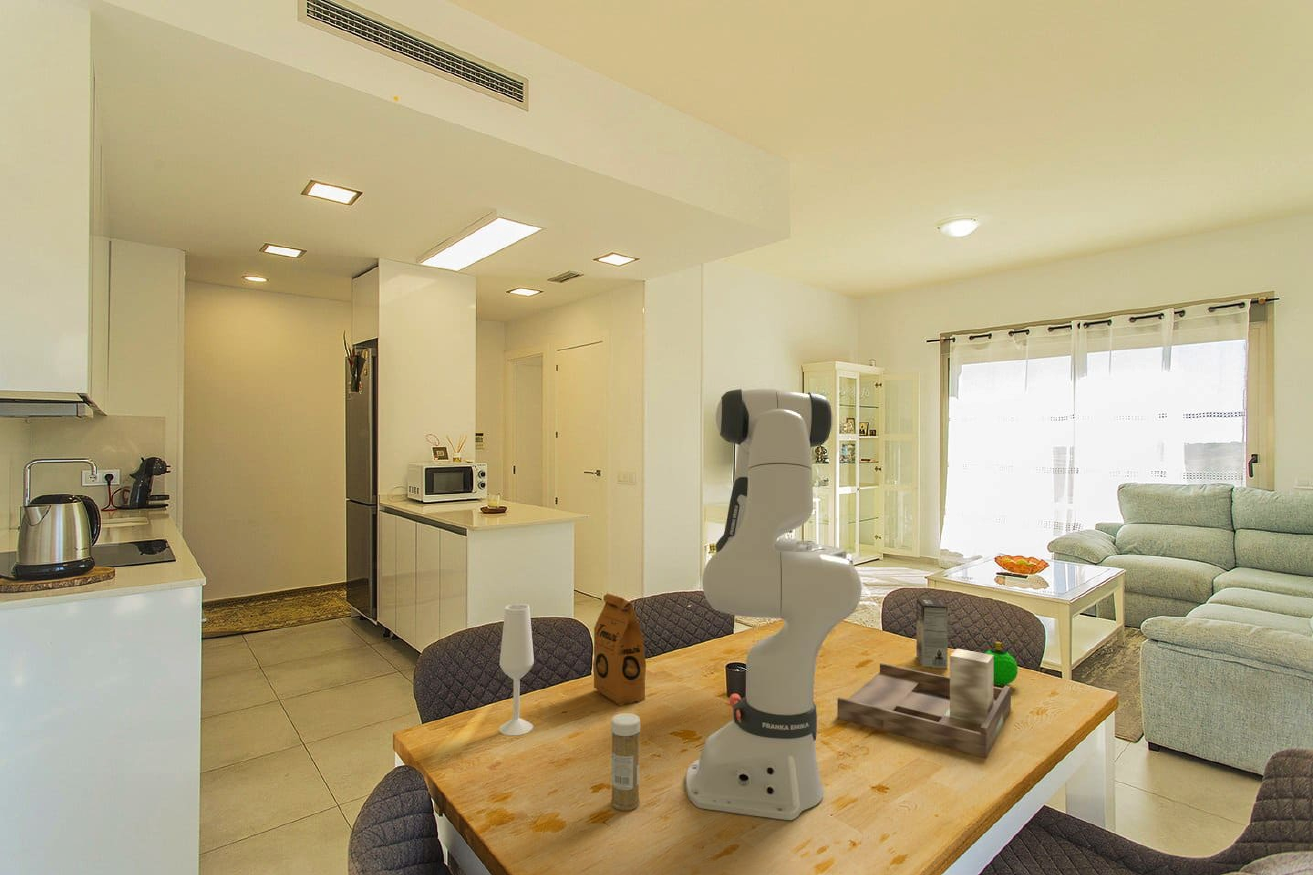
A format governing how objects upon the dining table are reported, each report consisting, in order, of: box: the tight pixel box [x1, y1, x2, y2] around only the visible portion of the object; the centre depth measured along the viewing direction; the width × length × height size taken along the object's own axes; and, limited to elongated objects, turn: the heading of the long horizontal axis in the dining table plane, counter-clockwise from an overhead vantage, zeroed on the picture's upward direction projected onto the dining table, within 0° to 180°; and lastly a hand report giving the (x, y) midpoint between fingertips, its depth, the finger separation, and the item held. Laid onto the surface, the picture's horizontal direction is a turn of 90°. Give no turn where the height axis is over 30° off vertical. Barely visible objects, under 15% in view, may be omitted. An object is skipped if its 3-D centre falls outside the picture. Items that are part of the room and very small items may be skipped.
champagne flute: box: [498, 603, 535, 736], centre depth 128 cm, size 7×7×24 cm
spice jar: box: [610, 712, 641, 812], centre depth 101 cm, size 5×5×14 cm
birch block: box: [949, 648, 994, 722], centre depth 131 cm, size 7×6×12 cm
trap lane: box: [836, 662, 1012, 758], centre depth 137 cm, size 28×28×5 cm
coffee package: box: [592, 592, 647, 706], centre depth 145 cm, size 10×12×22 cm
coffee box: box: [915, 597, 949, 670], centre depth 169 cm, size 9×6×16 cm
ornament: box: [984, 641, 1019, 686], centre depth 154 cm, size 8×8×10 cm
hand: (850, 564), depth 144 cm, fingers closed
